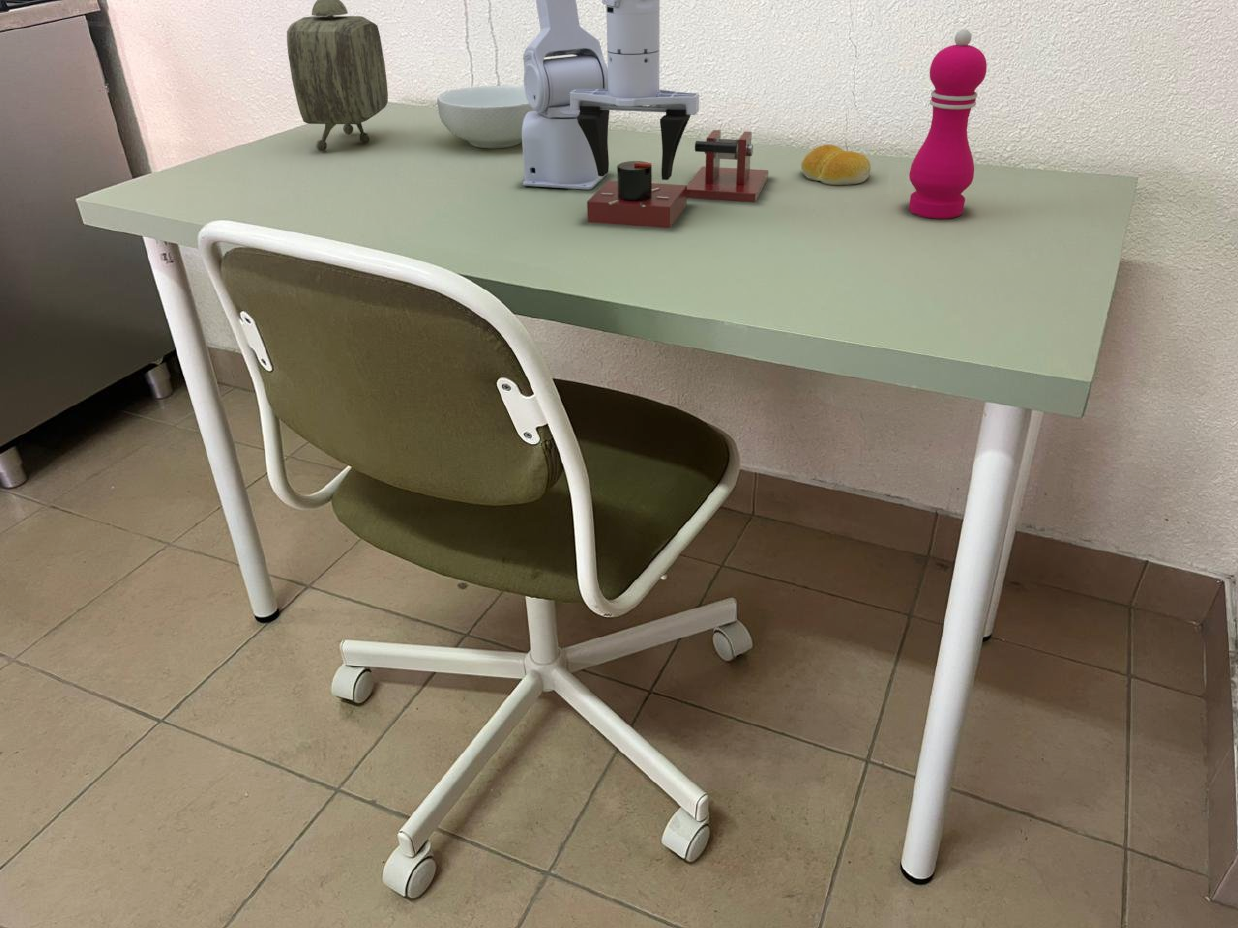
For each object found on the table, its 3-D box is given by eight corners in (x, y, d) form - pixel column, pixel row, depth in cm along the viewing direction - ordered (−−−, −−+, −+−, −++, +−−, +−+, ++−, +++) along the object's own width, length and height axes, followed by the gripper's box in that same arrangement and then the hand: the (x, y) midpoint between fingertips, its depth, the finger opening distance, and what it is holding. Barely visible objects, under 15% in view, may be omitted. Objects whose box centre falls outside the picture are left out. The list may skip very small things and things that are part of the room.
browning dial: (613, 200, 112) (613, 166, 110) (623, 190, 115) (622, 157, 113) (646, 202, 111) (646, 168, 109) (655, 192, 114) (655, 159, 112)
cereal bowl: (546, 155, 140) (543, 105, 136) (433, 157, 140) (427, 107, 136) (554, 128, 154) (552, 82, 150) (452, 130, 155) (447, 84, 151)
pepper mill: (968, 204, 116) (999, 25, 106) (966, 222, 111) (999, 35, 100) (907, 200, 118) (932, 24, 108) (901, 217, 113) (927, 33, 102)
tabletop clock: (343, 132, 155) (314, -42, 142) (396, 132, 154) (372, -42, 141) (306, 154, 143) (271, -33, 130) (364, 155, 142) (334, -34, 128)
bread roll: (844, 191, 122) (847, 159, 120) (790, 177, 128) (793, 146, 126) (883, 178, 127) (887, 147, 124) (830, 165, 132) (832, 136, 130)
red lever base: (755, 203, 118) (758, 147, 115) (684, 198, 121) (685, 143, 117) (767, 179, 127) (771, 126, 124) (701, 175, 129) (703, 123, 126)
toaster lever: (735, 159, 112) (737, 137, 111) (693, 156, 113) (695, 135, 113) (749, 160, 122) (750, 140, 122) (710, 158, 124) (712, 138, 123)
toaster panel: (585, 225, 112) (585, 201, 111) (609, 201, 120) (608, 179, 119) (668, 231, 110) (668, 207, 109) (686, 206, 118) (687, 183, 116)
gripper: (558, 55, 103) (564, 181, 110) (690, 58, 99) (688, 189, 106) (578, 44, 109) (583, 165, 116) (704, 47, 105) (701, 172, 112)
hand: (634, 176), depth 111 cm, fingers open, 7 cm apart
